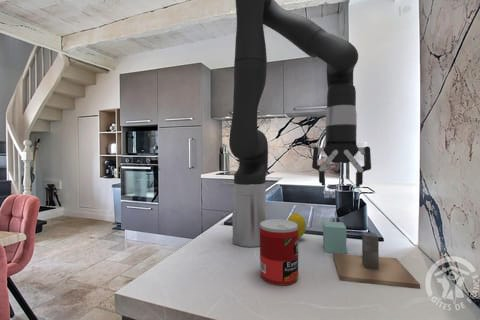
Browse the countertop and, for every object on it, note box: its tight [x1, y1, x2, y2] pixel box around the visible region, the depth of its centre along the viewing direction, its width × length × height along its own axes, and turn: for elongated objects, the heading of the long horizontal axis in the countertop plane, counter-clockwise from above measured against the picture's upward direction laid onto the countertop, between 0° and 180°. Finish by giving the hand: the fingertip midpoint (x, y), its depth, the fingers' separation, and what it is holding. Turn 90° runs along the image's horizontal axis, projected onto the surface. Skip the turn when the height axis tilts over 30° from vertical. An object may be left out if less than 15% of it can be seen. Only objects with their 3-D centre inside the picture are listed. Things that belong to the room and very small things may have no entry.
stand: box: [332, 231, 421, 289], centre depth 53 cm, size 14×12×8 cm
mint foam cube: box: [322, 221, 348, 254], centre depth 65 cm, size 5×5×7 cm
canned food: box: [259, 218, 299, 286], centre depth 51 cm, size 8×8×11 cm
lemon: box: [287, 212, 307, 239], centre depth 74 cm, size 6×6×8 cm
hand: (340, 185), depth 65 cm, fingers open, 8 cm apart
